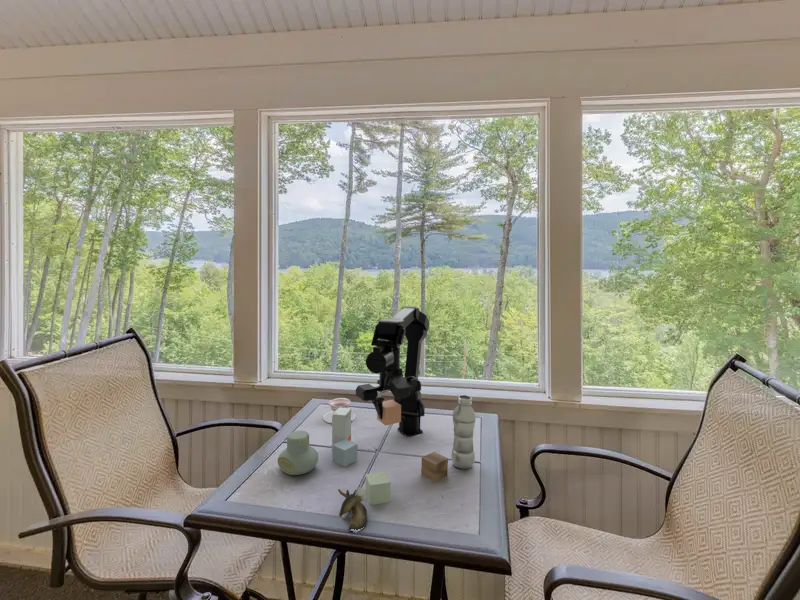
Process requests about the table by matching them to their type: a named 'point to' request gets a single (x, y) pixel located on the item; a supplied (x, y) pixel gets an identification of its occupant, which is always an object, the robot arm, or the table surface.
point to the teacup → (336, 404)
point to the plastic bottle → (463, 433)
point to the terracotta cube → (390, 413)
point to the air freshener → (298, 454)
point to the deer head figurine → (354, 508)
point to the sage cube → (377, 488)
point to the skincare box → (341, 425)
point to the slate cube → (344, 452)
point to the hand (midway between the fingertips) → (388, 417)
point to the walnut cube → (434, 466)
